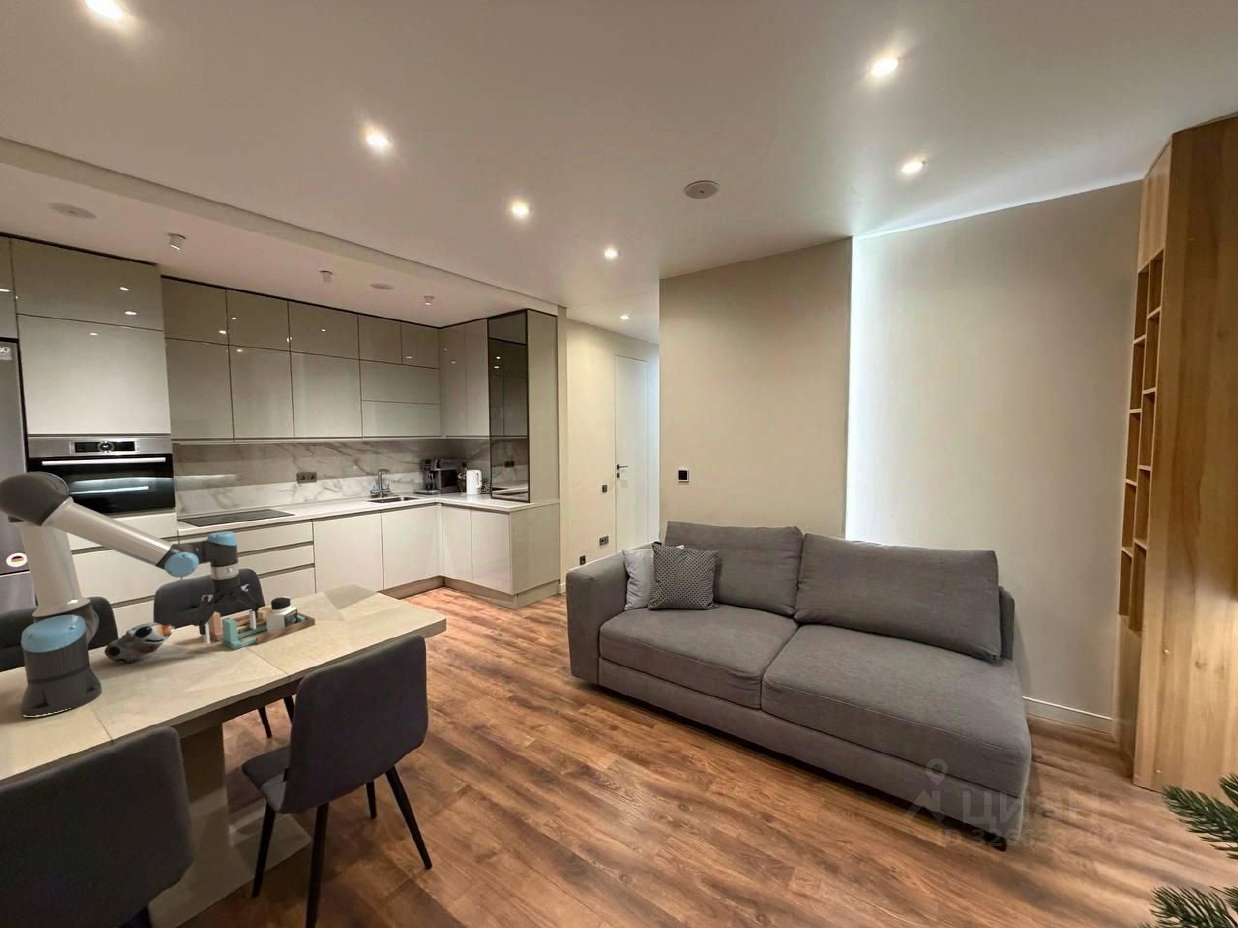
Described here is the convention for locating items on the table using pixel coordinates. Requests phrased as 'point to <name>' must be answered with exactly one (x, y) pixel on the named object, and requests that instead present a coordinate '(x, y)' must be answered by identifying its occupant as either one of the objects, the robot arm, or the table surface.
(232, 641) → the frame
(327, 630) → the table surface
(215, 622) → the sled
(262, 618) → the oak cube
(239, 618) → the lane rails
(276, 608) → the medicine bottle
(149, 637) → the lucky cat figurine
